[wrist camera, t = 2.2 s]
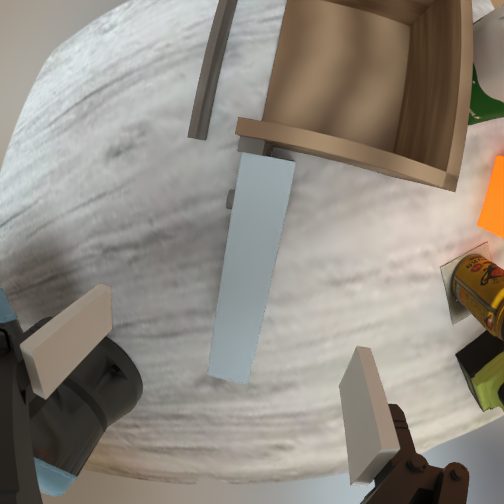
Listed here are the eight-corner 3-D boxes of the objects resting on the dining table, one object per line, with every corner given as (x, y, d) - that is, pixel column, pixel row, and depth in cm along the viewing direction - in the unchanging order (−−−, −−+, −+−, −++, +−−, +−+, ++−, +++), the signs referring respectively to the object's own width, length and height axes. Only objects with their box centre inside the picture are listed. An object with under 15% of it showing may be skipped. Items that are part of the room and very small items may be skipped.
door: (220, 313, 35) (193, 371, 25) (247, 152, 30) (223, 149, 19) (260, 321, 35) (247, 384, 25) (294, 161, 30) (296, 162, 19)
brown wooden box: (197, 143, 30) (138, 137, 18) (235, -17, 24) (205, -86, 12) (392, 186, 29) (451, 207, 16) (416, 22, 23) (468, -29, 10)
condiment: (486, 241, 29) (548, 277, 17) (495, 299, 30) (545, 346, 19) (439, 266, 30) (493, 315, 19) (451, 324, 32) (494, 381, 21)
